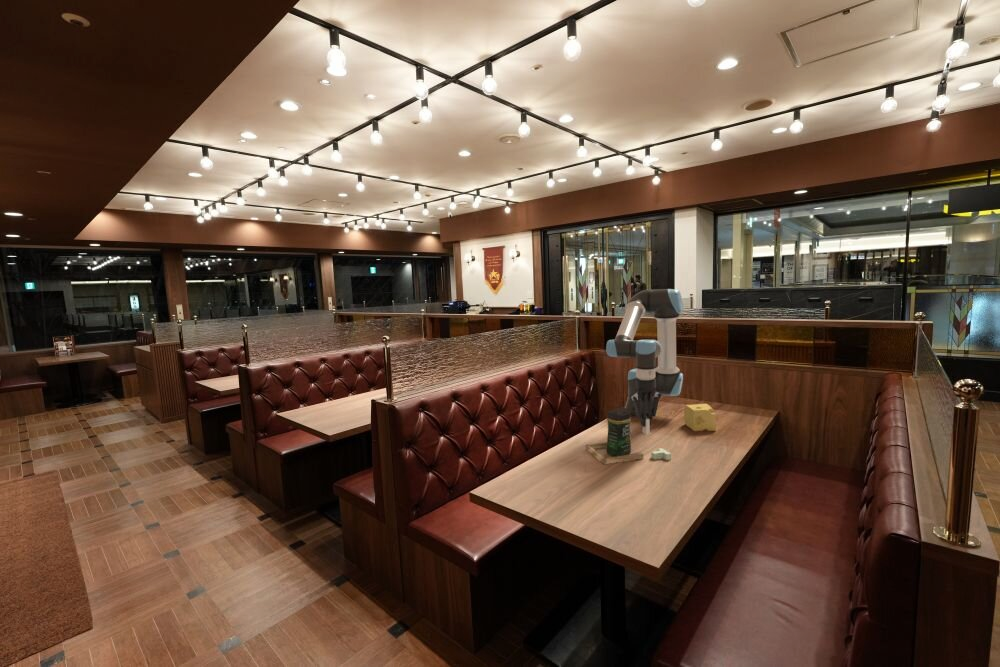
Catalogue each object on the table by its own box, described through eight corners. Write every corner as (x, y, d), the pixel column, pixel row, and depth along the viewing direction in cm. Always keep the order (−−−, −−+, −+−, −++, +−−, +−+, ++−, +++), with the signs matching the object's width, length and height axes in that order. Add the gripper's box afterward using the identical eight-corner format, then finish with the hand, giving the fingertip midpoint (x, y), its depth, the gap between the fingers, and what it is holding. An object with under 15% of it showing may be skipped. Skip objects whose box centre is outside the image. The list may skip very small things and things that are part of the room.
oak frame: (586, 449, 181) (585, 444, 181) (622, 444, 185) (622, 439, 185) (603, 464, 166) (603, 459, 165) (643, 458, 169) (643, 453, 169)
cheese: (716, 431, 196) (716, 409, 195) (692, 431, 196) (692, 410, 195) (706, 423, 207) (706, 403, 205) (683, 424, 207) (683, 404, 206)
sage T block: (648, 455, 172) (648, 449, 172) (661, 453, 174) (661, 448, 173) (657, 461, 166) (657, 455, 166) (671, 459, 168) (671, 453, 167)
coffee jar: (619, 459, 170) (619, 413, 168) (603, 453, 176) (603, 409, 174) (634, 452, 176) (634, 408, 173) (619, 447, 182) (618, 404, 180)
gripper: (636, 382, 170) (636, 439, 173) (665, 378, 173) (665, 434, 176) (626, 377, 177) (627, 432, 181) (654, 374, 180) (654, 428, 183)
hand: (646, 433), depth 178 cm, fingers closed
